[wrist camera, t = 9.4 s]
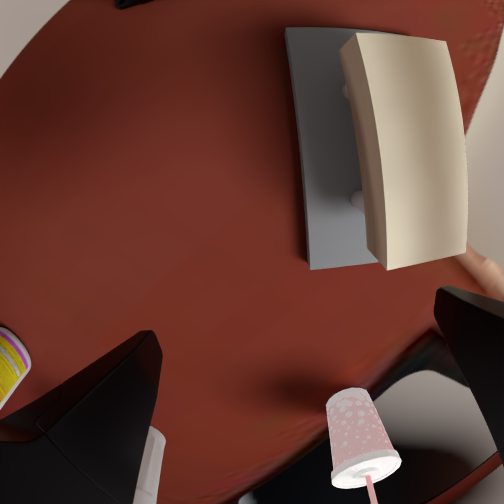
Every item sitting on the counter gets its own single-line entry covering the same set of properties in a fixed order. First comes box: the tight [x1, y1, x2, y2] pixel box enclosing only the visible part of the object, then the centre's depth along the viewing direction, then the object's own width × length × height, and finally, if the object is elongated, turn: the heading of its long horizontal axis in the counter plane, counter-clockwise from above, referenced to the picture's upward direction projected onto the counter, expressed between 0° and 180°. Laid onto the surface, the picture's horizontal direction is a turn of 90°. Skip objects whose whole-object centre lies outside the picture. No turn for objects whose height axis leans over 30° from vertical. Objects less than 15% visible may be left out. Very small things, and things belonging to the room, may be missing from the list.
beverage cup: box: [326, 388, 401, 504], centre depth 20 cm, size 6×6×14 cm
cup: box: [133, 426, 166, 504], centre depth 24 cm, size 8×8×12 cm
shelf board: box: [338, 33, 468, 270], centre depth 12 cm, size 5×11×3 cm, turn 11°
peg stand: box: [284, 27, 404, 270], centre depth 16 cm, size 16×10×4 cm, turn 7°
